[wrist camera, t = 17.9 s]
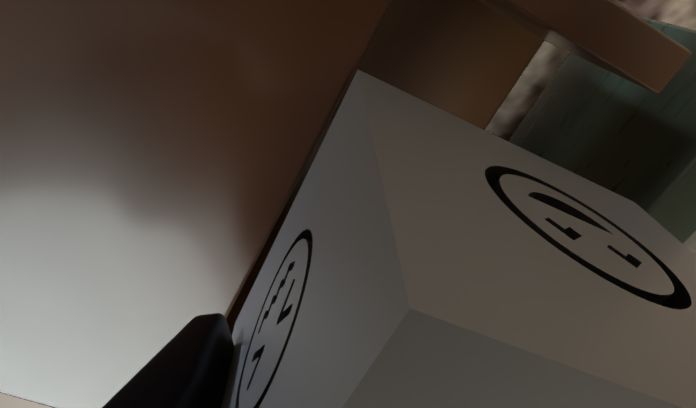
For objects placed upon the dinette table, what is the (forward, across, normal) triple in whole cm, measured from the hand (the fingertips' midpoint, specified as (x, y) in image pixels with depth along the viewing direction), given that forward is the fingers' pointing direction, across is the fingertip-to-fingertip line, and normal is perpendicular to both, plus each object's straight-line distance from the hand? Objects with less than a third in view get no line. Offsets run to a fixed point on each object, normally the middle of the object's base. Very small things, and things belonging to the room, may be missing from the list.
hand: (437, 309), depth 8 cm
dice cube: (+1, 0, 0) cm, 1 cm away
